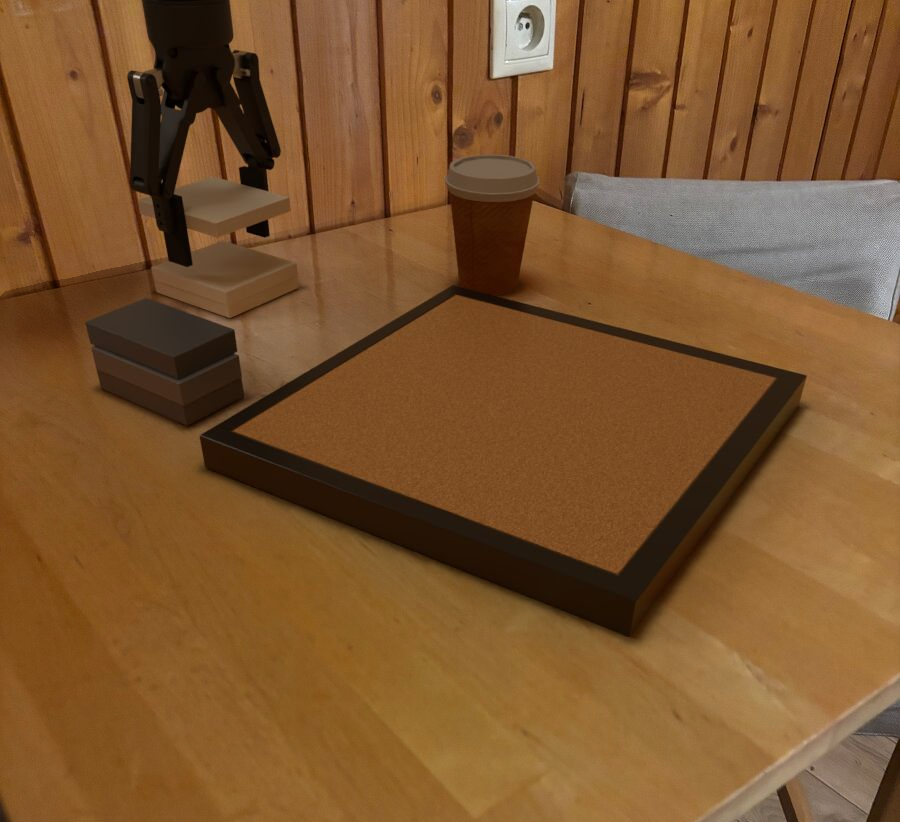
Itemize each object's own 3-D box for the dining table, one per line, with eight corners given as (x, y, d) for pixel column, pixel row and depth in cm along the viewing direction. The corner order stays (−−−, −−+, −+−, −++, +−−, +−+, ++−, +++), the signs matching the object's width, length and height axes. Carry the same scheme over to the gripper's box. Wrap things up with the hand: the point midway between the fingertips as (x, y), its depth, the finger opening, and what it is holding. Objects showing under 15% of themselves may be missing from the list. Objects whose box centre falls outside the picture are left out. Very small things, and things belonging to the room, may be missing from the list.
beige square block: (154, 292, 98) (149, 266, 96) (226, 264, 104) (222, 239, 103) (229, 319, 93) (225, 292, 91) (300, 288, 99) (297, 262, 98)
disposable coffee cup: (499, 262, 106) (504, 148, 98) (550, 290, 100) (559, 171, 92) (427, 279, 102) (426, 161, 94) (476, 309, 96) (479, 186, 88)
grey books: (97, 388, 82) (80, 322, 78) (158, 360, 86) (146, 297, 82) (187, 428, 76) (174, 360, 73) (248, 396, 81) (239, 330, 77)
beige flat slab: (140, 214, 93) (137, 199, 92) (214, 190, 99) (213, 176, 98) (217, 238, 88) (215, 223, 87) (291, 211, 95) (289, 196, 94)
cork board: (205, 467, 72) (629, 637, 58) (199, 434, 70) (635, 601, 56) (452, 312, 95) (798, 405, 81) (452, 284, 93) (807, 375, 79)
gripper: (107, 11, 73) (159, 290, 87) (305, -17, 87) (322, 227, 102) (47, 1, 76) (107, 271, 91) (247, -25, 91) (272, 212, 105)
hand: (220, 248), depth 96 cm, fingers closed on beige flat slab, 10 cm apart
